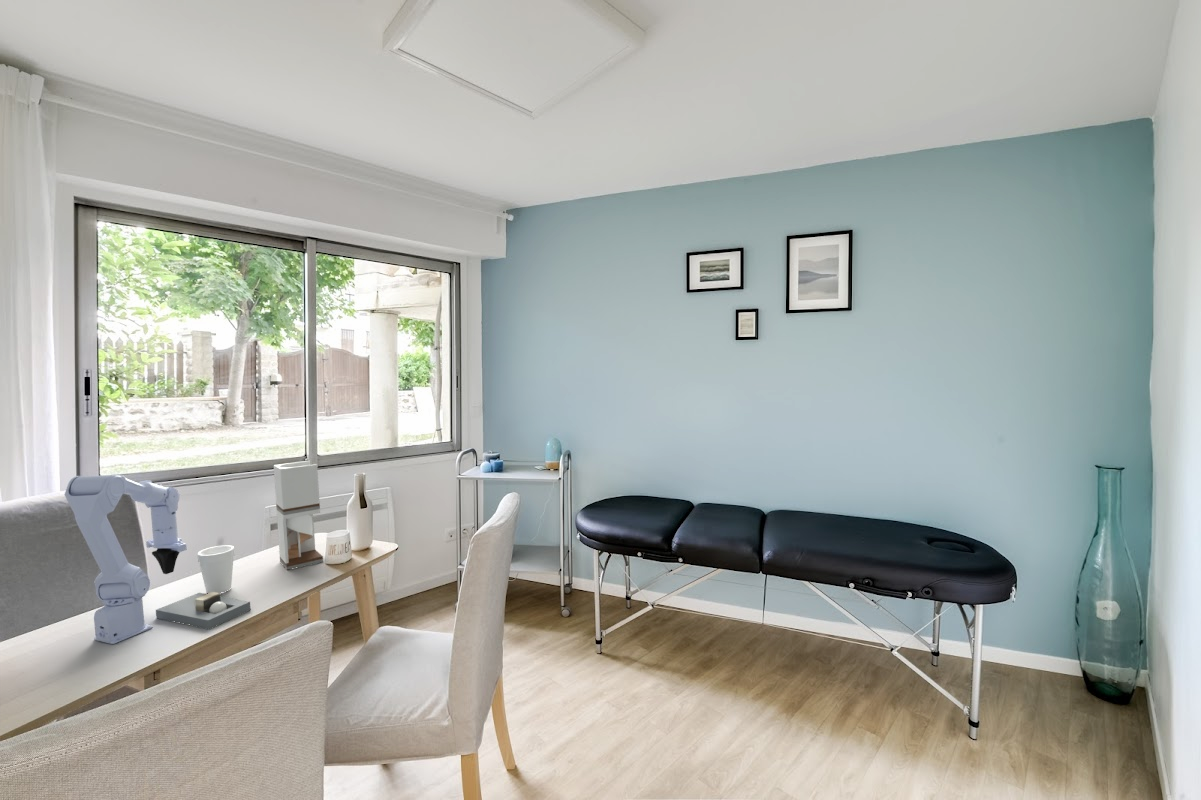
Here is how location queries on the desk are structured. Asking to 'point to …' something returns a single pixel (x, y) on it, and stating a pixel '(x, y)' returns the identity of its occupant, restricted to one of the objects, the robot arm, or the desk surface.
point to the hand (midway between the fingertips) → (168, 572)
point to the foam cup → (217, 567)
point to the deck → (201, 612)
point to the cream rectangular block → (207, 601)
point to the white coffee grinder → (297, 513)
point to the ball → (217, 607)
